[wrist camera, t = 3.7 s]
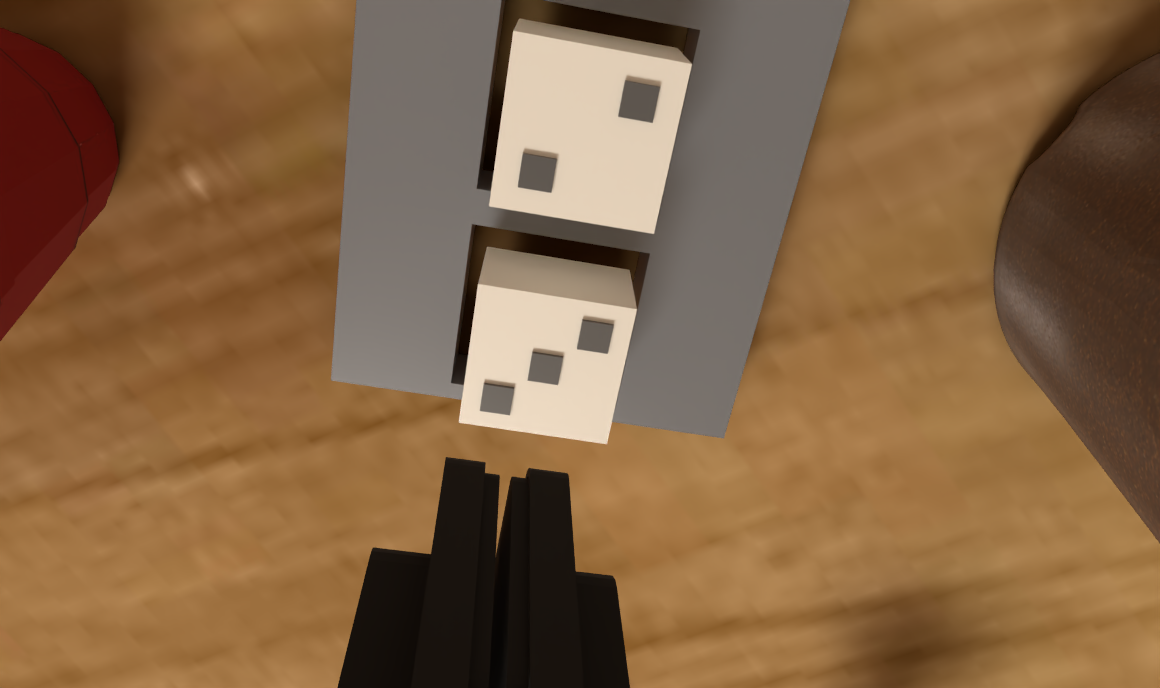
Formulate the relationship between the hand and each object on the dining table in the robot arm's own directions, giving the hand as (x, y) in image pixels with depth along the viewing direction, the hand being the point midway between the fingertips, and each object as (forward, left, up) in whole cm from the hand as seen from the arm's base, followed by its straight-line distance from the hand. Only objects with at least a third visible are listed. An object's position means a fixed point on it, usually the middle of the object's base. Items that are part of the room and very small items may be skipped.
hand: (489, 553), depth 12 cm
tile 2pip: (-1, -4, -14) cm, 14 cm away
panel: (-1, -4, -16) cm, 16 cm away
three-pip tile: (-1, +2, -13) cm, 14 cm away
